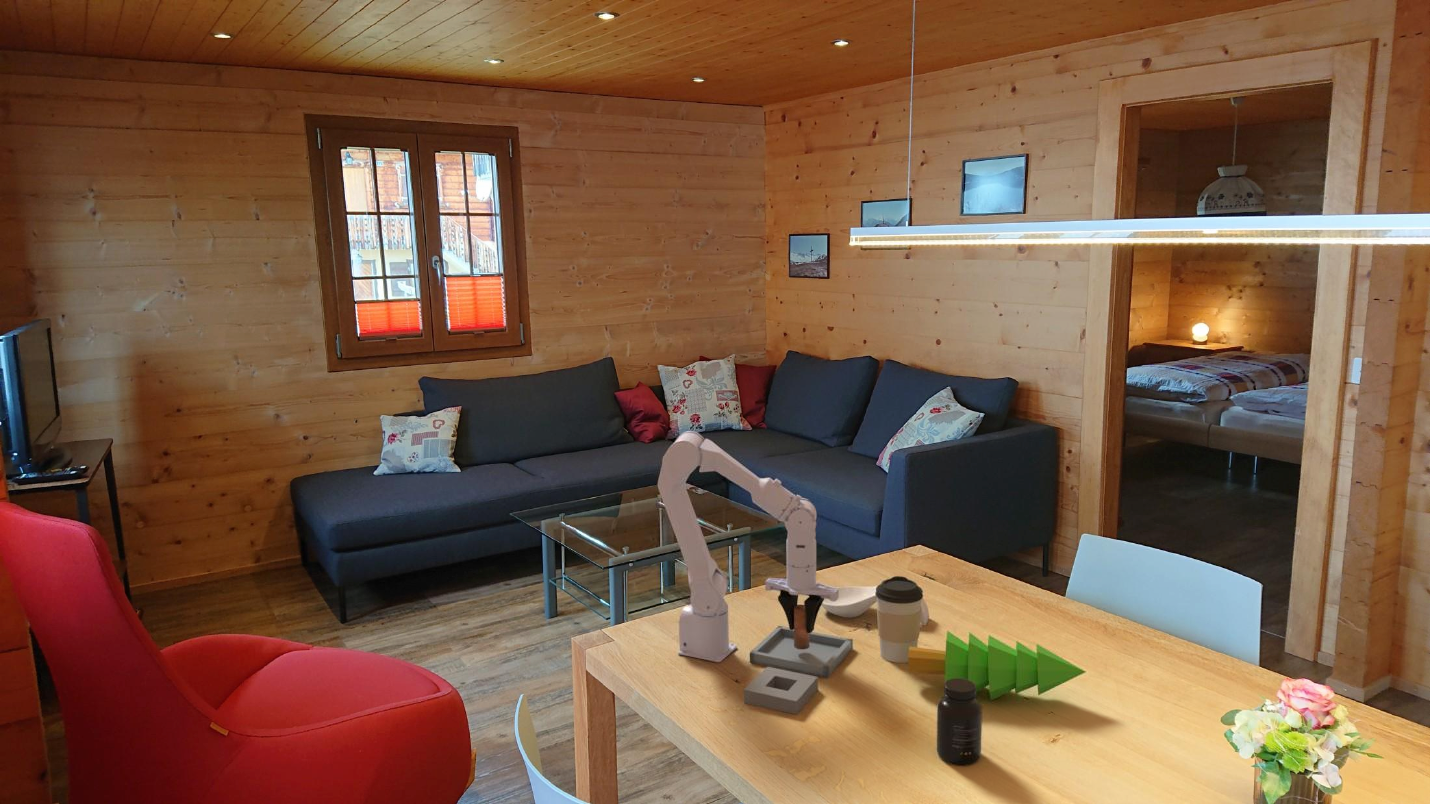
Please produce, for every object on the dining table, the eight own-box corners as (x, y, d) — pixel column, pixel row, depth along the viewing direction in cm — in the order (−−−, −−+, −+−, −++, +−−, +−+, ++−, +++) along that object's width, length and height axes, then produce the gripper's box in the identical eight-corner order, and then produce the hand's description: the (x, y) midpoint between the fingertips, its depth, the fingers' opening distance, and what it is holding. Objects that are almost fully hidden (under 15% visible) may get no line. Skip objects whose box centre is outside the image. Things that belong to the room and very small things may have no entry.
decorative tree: (910, 615, 174) (1085, 625, 166) (913, 659, 180) (1083, 671, 171) (904, 662, 165) (1089, 675, 156) (908, 707, 171) (1087, 722, 162)
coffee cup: (922, 667, 181) (923, 592, 178) (873, 663, 182) (874, 589, 180) (921, 646, 189) (923, 575, 187) (875, 643, 191) (876, 572, 189)
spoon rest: (812, 619, 205) (812, 587, 204) (826, 599, 216) (826, 569, 214) (923, 634, 196) (923, 601, 195) (932, 612, 207) (933, 581, 206)
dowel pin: (791, 647, 186) (791, 609, 184) (797, 641, 188) (797, 603, 187) (806, 650, 184) (806, 611, 183) (811, 644, 187) (811, 605, 186)
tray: (749, 662, 184) (749, 652, 184) (778, 634, 196) (778, 625, 196) (827, 678, 177) (827, 668, 177) (852, 648, 189) (852, 639, 189)
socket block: (744, 702, 168) (743, 689, 168) (767, 679, 177) (767, 666, 177) (796, 714, 164) (796, 701, 163) (817, 689, 173) (817, 676, 172)
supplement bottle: (930, 745, 153) (932, 675, 151) (971, 742, 154) (973, 673, 152) (944, 768, 147) (946, 696, 144) (987, 765, 147) (989, 693, 145)
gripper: (758, 564, 183) (759, 630, 186) (829, 575, 177) (829, 643, 179) (773, 553, 189) (774, 617, 192) (842, 563, 183) (842, 629, 185)
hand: (801, 629), depth 186 cm, fingers closed on dowel pin, 3 cm apart
